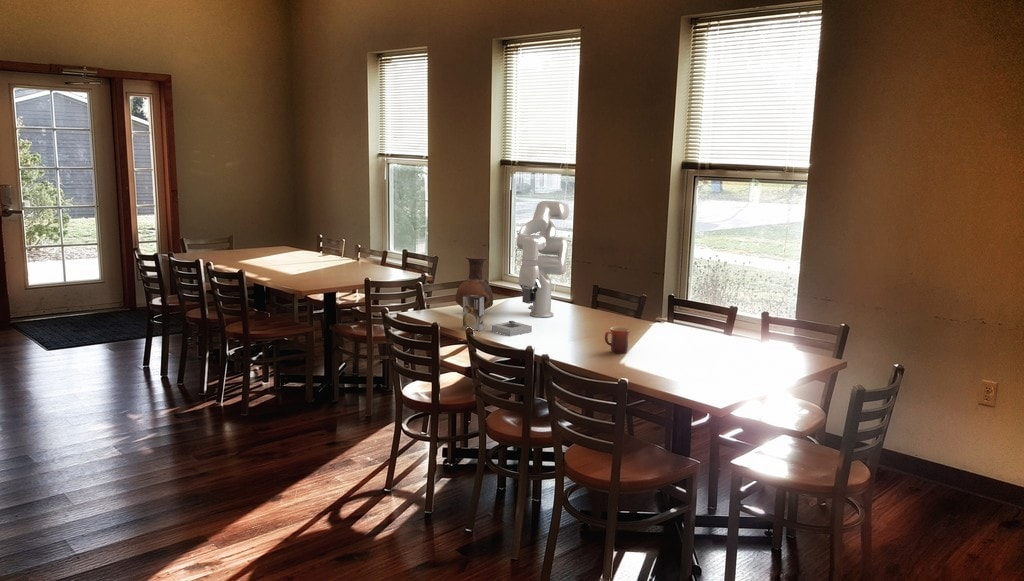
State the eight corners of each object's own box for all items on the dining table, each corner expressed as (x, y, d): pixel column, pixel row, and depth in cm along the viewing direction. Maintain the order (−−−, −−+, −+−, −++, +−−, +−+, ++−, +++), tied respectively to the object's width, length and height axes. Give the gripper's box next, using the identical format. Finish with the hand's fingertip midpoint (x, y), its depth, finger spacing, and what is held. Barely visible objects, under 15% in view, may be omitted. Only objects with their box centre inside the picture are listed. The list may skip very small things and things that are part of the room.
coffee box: (484, 328, 382) (485, 295, 380) (479, 331, 377) (480, 297, 374) (467, 326, 386) (468, 294, 383) (461, 329, 380) (462, 296, 377)
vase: (504, 315, 414) (505, 258, 409) (474, 320, 401) (475, 261, 396) (473, 308, 432) (474, 253, 427) (444, 312, 419) (445, 255, 414)
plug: (522, 302, 387) (522, 287, 386) (529, 300, 390) (529, 286, 389) (529, 303, 384) (529, 288, 382) (535, 302, 387) (536, 287, 386)
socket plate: (491, 331, 377) (491, 323, 377) (512, 327, 387) (512, 320, 386) (510, 336, 368) (510, 328, 367) (531, 332, 378) (531, 324, 377)
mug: (621, 348, 350) (622, 326, 348) (633, 353, 342) (634, 330, 340) (598, 351, 344) (599, 328, 342) (610, 356, 337) (611, 332, 335)
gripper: (512, 261, 387) (511, 297, 390) (537, 266, 375) (536, 303, 378) (523, 259, 392) (522, 295, 395) (548, 264, 380) (547, 301, 383)
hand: (529, 299), depth 387 cm, fingers closed on plug, 4 cm apart
